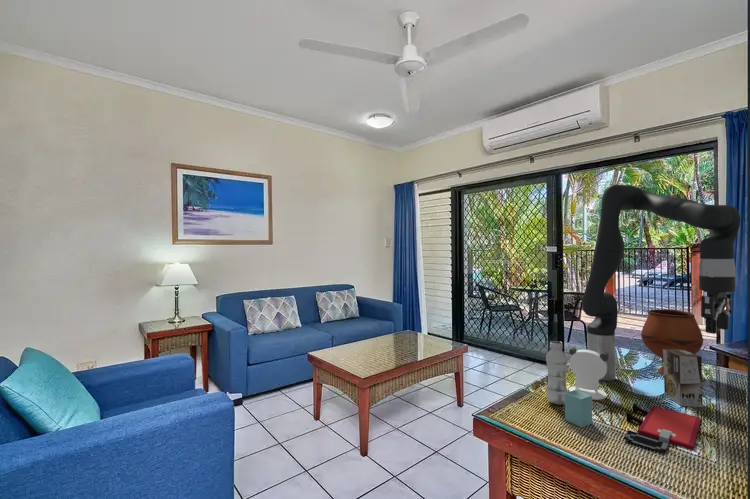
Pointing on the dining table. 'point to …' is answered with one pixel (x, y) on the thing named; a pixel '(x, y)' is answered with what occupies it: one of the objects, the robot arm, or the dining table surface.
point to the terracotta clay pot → (671, 332)
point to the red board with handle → (663, 428)
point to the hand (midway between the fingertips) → (717, 331)
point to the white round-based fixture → (588, 371)
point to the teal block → (578, 408)
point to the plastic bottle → (556, 373)
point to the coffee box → (683, 377)
